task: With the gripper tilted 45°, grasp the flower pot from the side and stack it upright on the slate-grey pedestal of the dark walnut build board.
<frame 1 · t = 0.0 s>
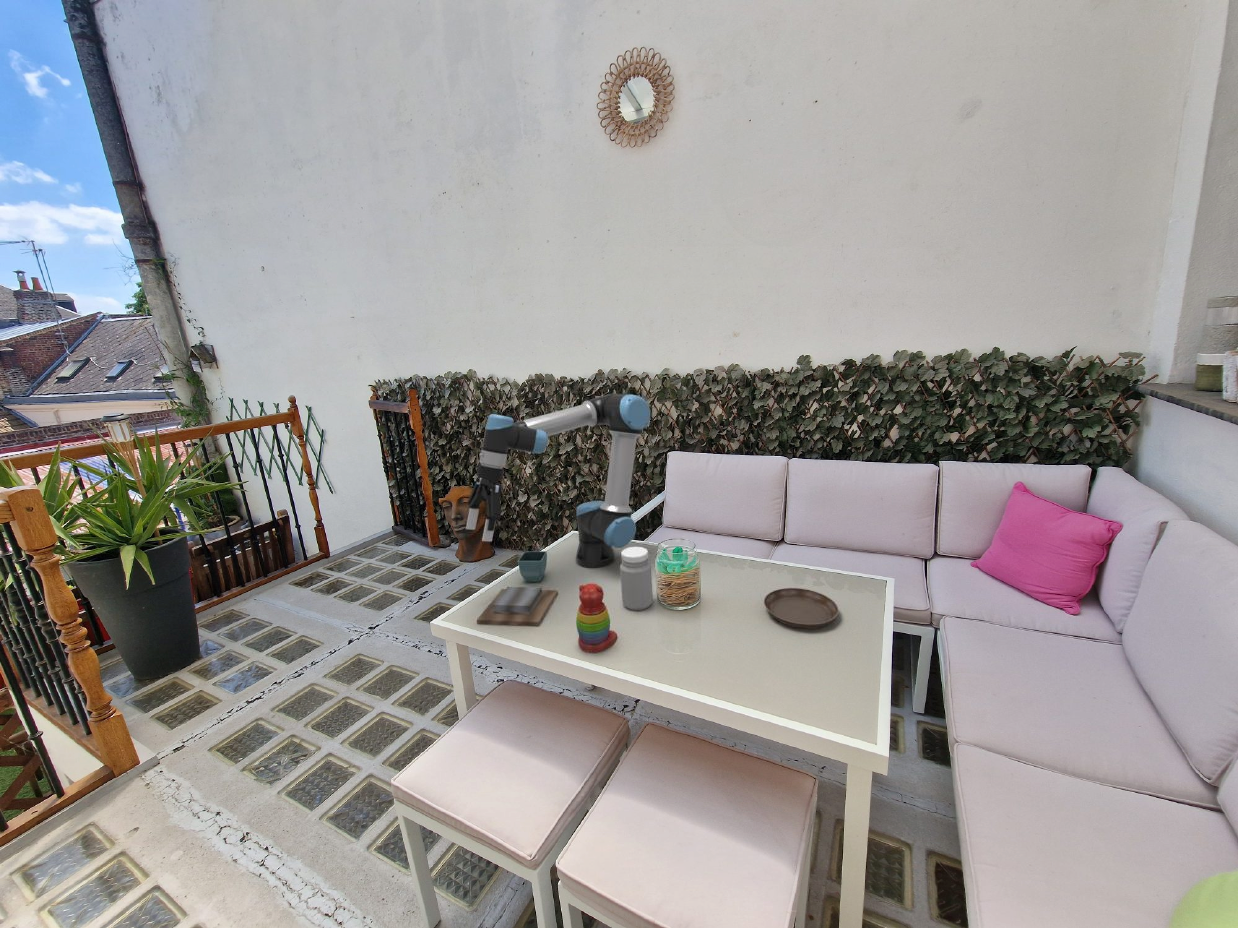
hand: (478, 535, 152), 28 cm above the table, tool tilted 20°, fingers open, 13 cm apart
plant saucer: (800, 614, 150), on the table
jar: (637, 604, 161), on the table
flower pot: (535, 579, 184), on the table
stacking bear: (595, 643, 142), on the table
build base: (519, 608, 163), on the table
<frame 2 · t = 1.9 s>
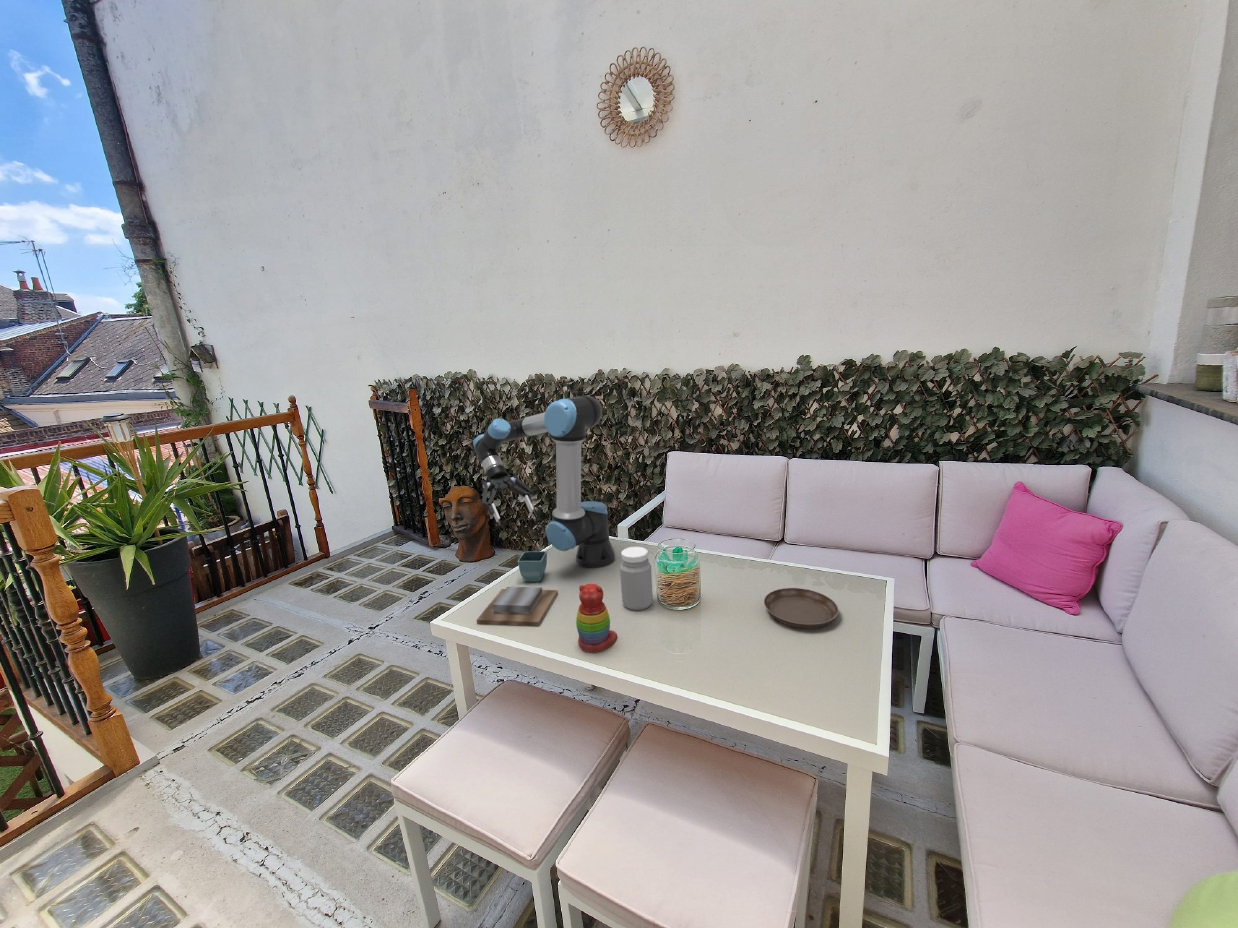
hand: (515, 515, 187), 22 cm above the table, tool tilted 45°, fingers open, 13 cm apart
nothing on the table moved.
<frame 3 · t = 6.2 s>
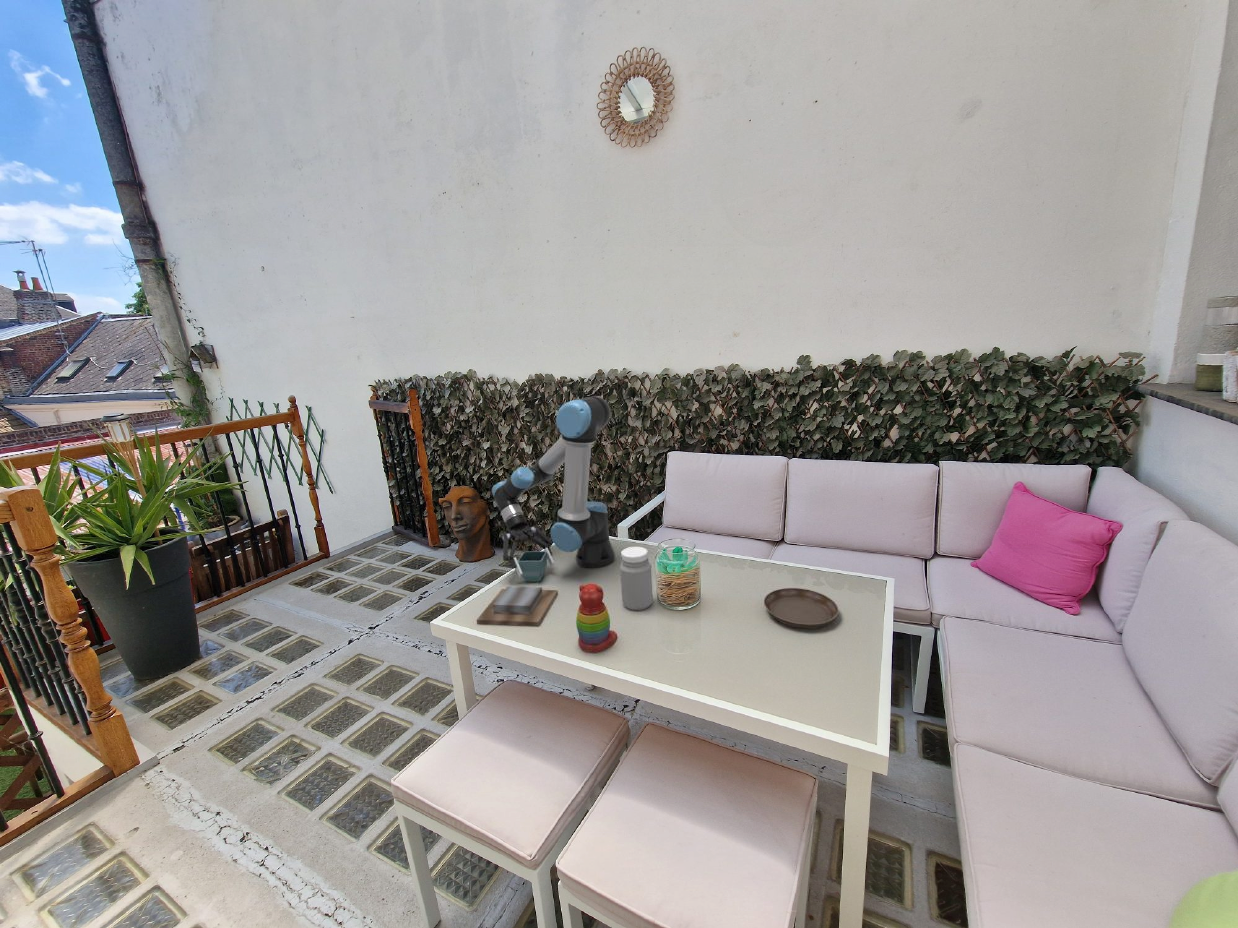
hand: (536, 569, 181), 4 cm above the table, tool tilted 45°, fingers closed on flower pot, 12 cm apart
flower pot: (535, 579, 184), on the table, touching gripper
everything else where it was.
when the fingers open (10 cm above the table, at t = 12.6 s): flower pot drops 1 cm, point 4 cm above the table.
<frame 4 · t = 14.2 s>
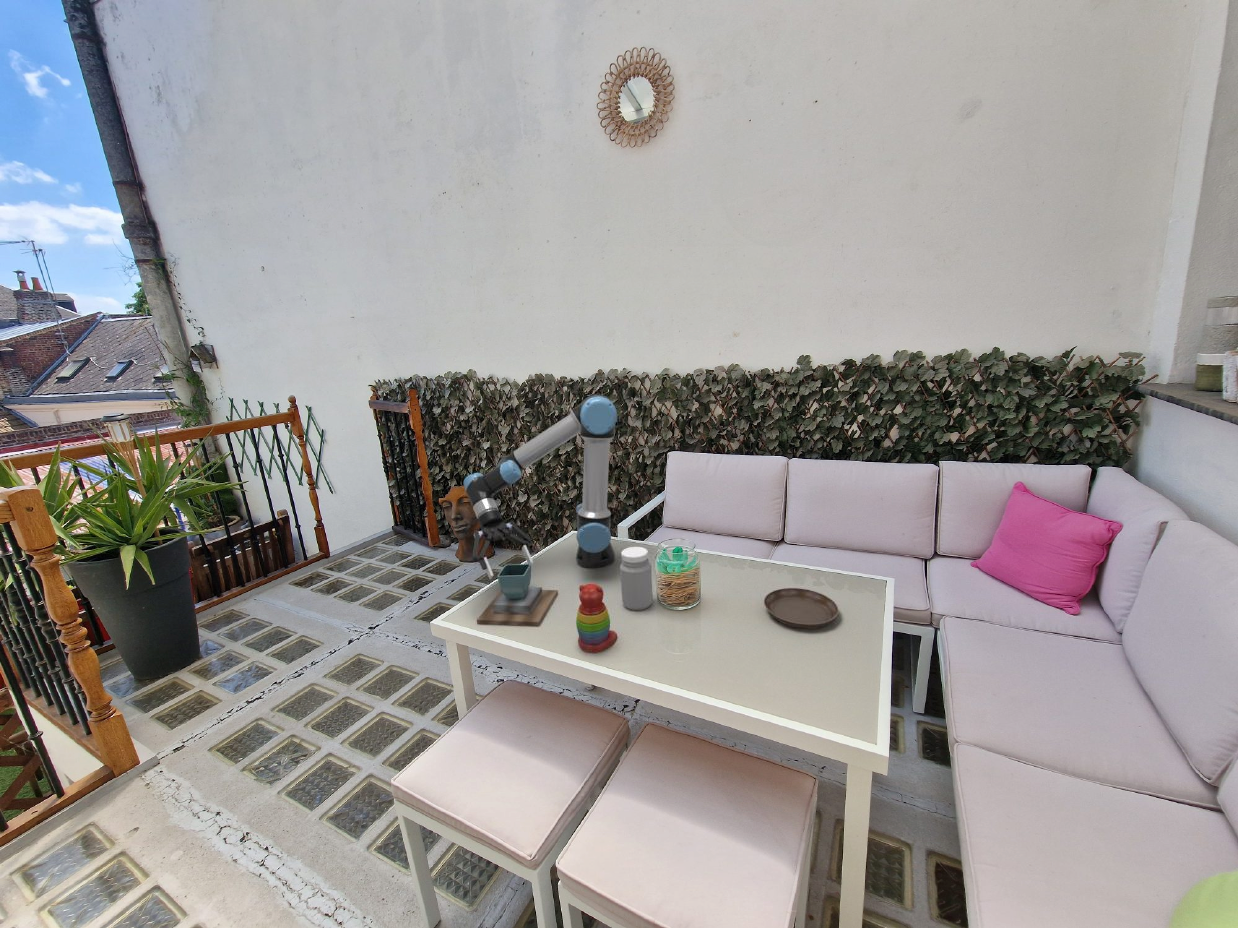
hand: (511, 570, 161), 13 cm above the table, tool tilted 45°, fingers open, 13 cm apart
flower pot: (518, 595, 163), point 4 cm above the table, touching gripper
everything else where it was.
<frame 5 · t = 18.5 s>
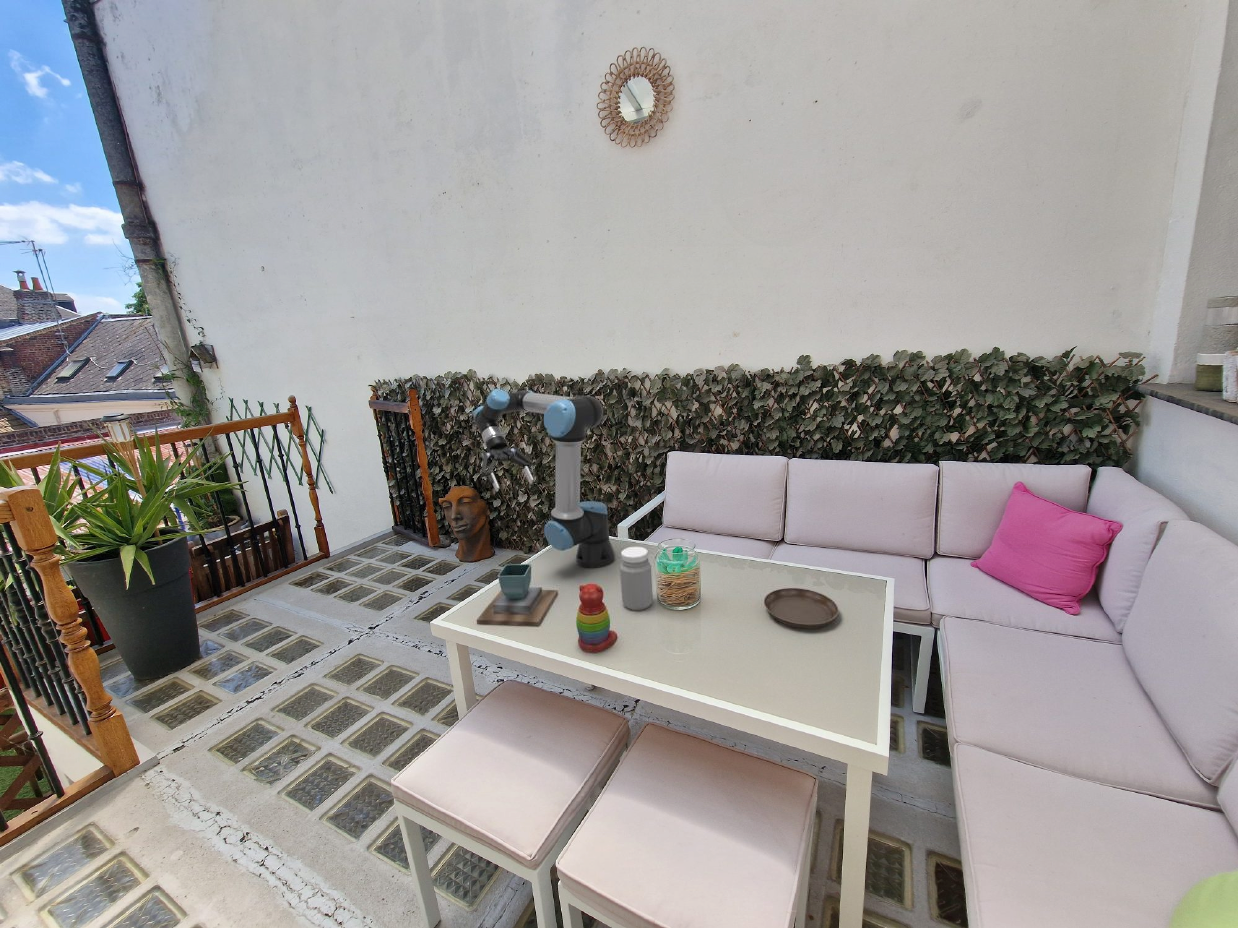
hand: (515, 485, 187), 33 cm above the table, tool tilted 45°, fingers open, 13 cm apart
flower pot: (518, 595, 163), point 4 cm above the table, touching build base
everything else where it was.
at the end: flower pot 0.2 cm off-centre on the build base, point 4.3 cm above the build base's base; flower pot tilted 0°; the gripper is holding nothing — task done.
